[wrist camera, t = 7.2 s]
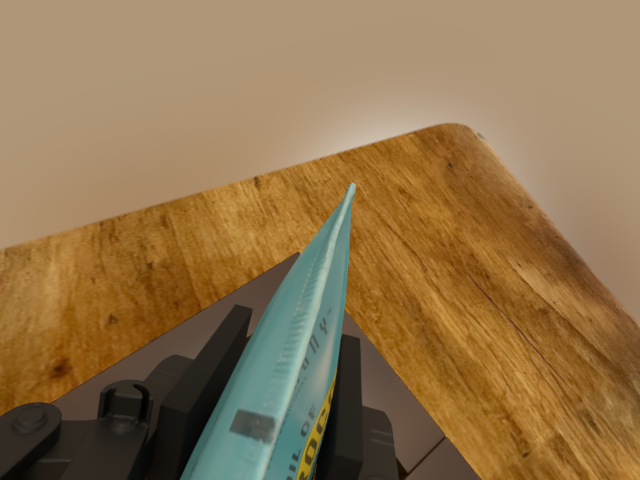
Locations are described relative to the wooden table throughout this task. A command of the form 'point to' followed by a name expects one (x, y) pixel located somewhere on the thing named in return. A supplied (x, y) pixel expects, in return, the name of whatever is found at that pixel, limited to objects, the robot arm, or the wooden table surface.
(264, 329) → the tube
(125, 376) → the square wooden frame
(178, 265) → the wooden table surface
